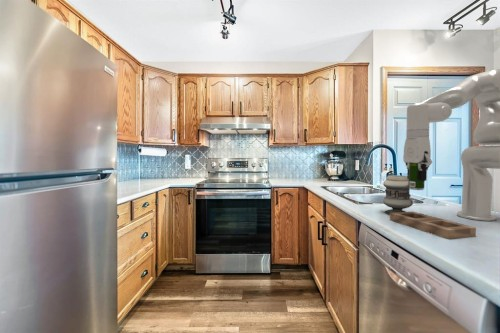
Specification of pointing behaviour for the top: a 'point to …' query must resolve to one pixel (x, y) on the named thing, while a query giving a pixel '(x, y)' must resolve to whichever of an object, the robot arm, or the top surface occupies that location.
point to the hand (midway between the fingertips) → (416, 179)
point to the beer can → (414, 178)
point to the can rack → (434, 225)
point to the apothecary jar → (397, 194)
